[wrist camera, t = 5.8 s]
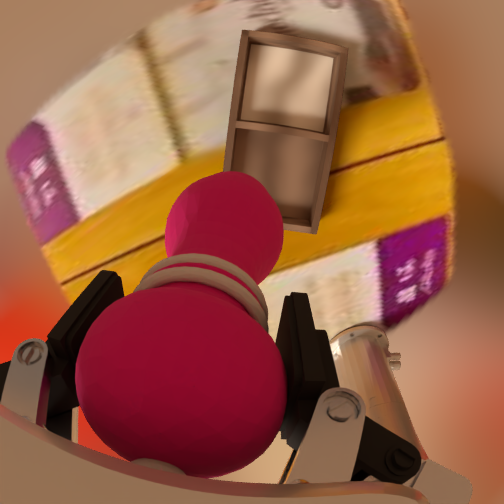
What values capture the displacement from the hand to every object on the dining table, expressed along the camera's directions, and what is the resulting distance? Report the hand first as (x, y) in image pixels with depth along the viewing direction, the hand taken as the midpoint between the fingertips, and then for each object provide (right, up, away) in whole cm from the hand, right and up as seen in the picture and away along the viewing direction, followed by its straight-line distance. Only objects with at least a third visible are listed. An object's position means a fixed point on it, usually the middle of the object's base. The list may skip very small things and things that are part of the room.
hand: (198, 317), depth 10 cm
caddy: (+6, +17, +22) cm, 29 cm away
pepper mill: (0, +6, +12) cm, 13 cm away
